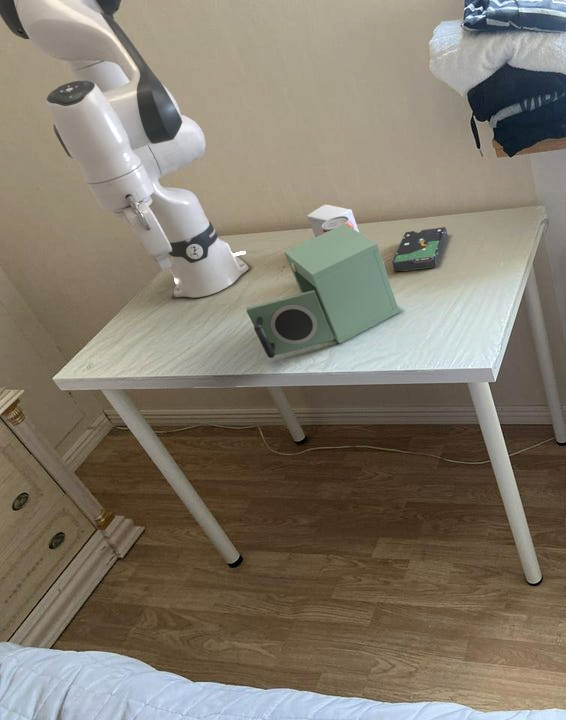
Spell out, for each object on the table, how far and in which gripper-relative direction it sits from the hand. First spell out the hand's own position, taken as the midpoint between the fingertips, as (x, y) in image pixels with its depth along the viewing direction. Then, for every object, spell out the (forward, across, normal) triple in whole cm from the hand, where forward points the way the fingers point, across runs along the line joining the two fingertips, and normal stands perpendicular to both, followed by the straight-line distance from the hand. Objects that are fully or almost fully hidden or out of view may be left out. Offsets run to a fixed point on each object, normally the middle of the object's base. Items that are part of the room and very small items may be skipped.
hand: (163, 263), depth 120 cm
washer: (+27, 0, -29) cm, 39 cm away
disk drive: (+27, +11, -52) cm, 59 cm away
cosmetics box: (+27, +31, -40) cm, 58 cm away
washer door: (+25, -6, -14) cm, 29 cm away
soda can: (+27, +18, -37) cm, 49 cm away
